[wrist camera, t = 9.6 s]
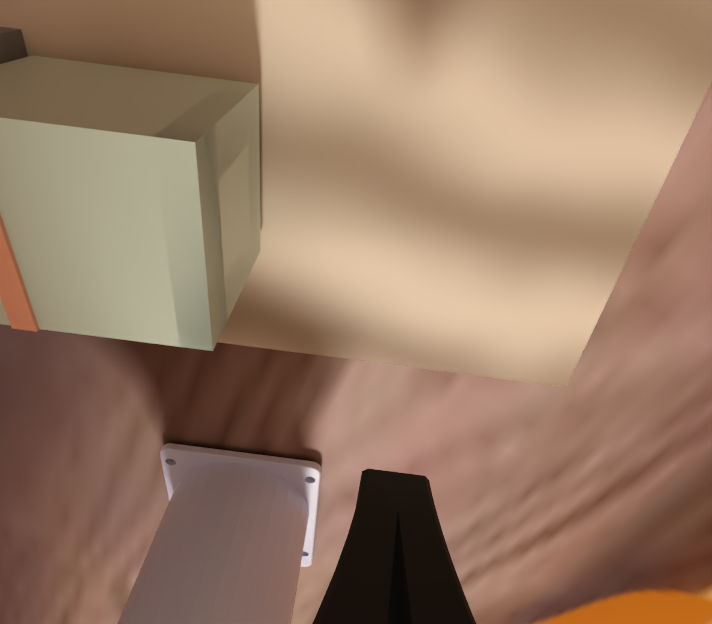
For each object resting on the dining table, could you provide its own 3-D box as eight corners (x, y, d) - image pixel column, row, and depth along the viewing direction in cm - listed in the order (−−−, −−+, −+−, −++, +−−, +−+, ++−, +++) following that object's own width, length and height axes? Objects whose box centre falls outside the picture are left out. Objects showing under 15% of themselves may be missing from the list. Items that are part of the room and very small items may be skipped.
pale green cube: (260, 251, 16) (211, 354, 12) (74, 227, 16) (-38, 321, 12) (258, 83, 13) (193, 144, 9) (32, 55, 13) (-137, 102, 9)
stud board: (556, 361, 20) (609, 503, 15) (16, 291, 20) (-119, 410, 15) (748, -73, 12) (1011, -92, 7) (-151, -186, 12) (-568, -289, 7)
